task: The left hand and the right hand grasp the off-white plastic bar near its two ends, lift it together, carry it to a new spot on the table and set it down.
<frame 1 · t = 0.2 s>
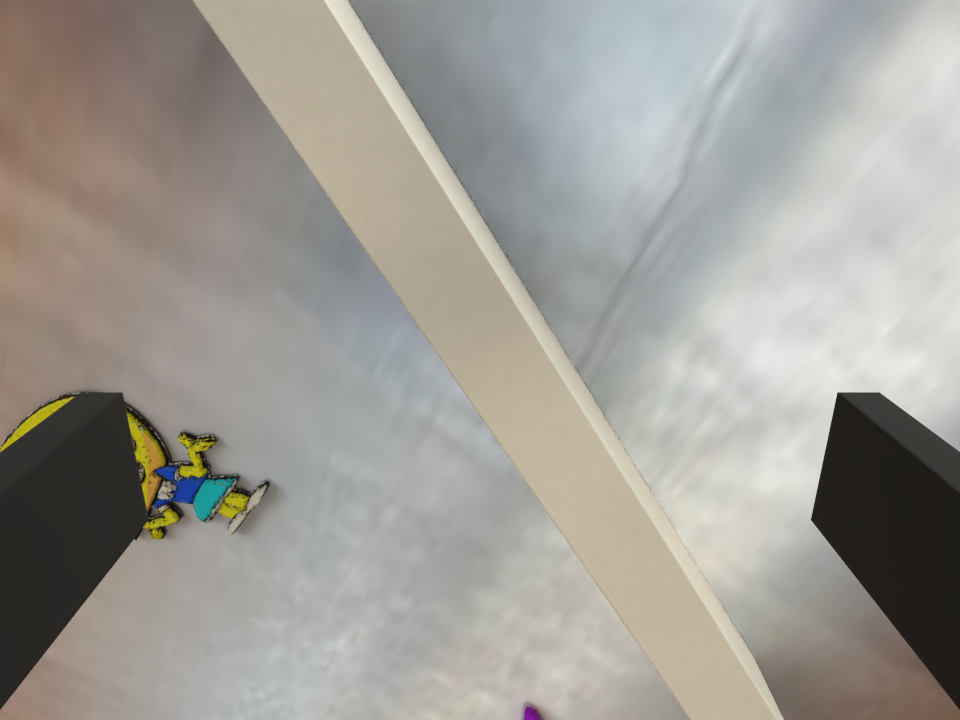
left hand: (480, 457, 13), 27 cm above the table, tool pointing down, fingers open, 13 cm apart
bar: (541, 383, 41), on the table
toy 2: (137, 466, 44), on the table
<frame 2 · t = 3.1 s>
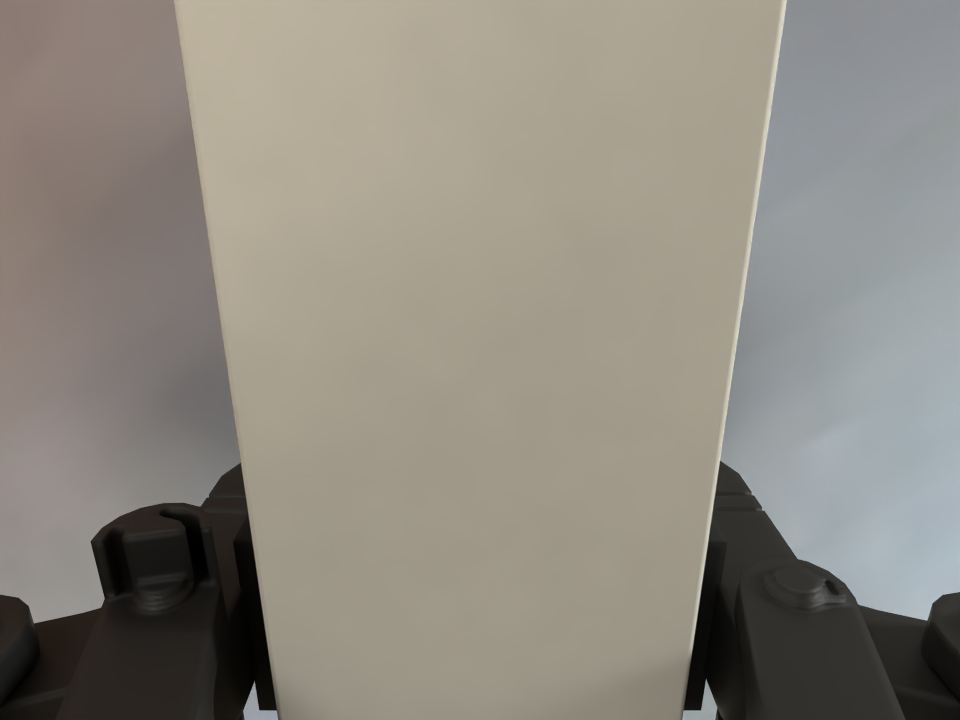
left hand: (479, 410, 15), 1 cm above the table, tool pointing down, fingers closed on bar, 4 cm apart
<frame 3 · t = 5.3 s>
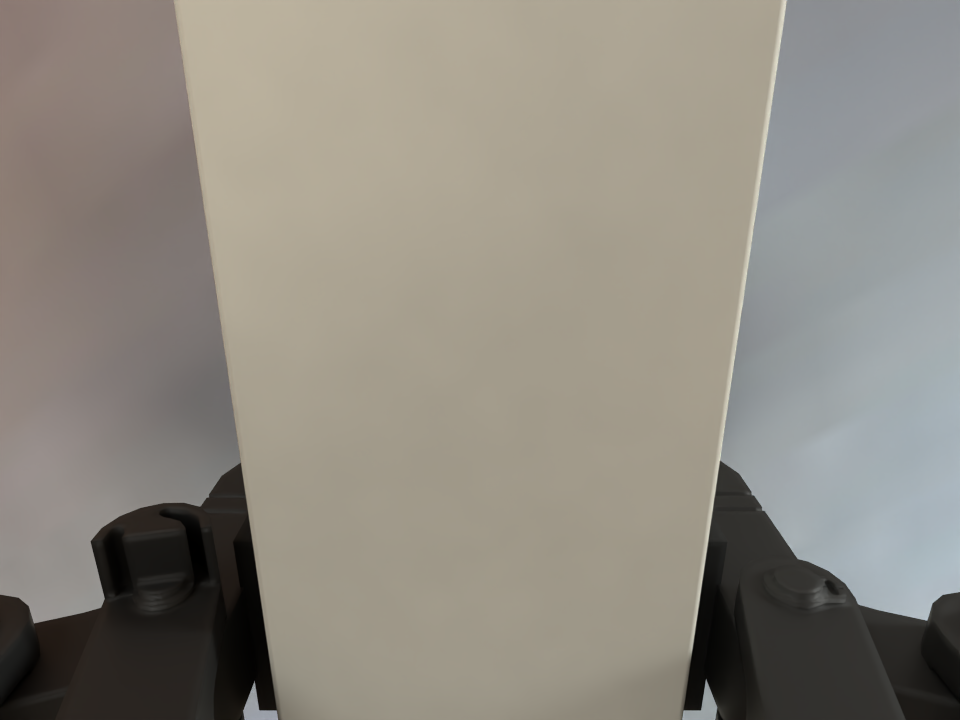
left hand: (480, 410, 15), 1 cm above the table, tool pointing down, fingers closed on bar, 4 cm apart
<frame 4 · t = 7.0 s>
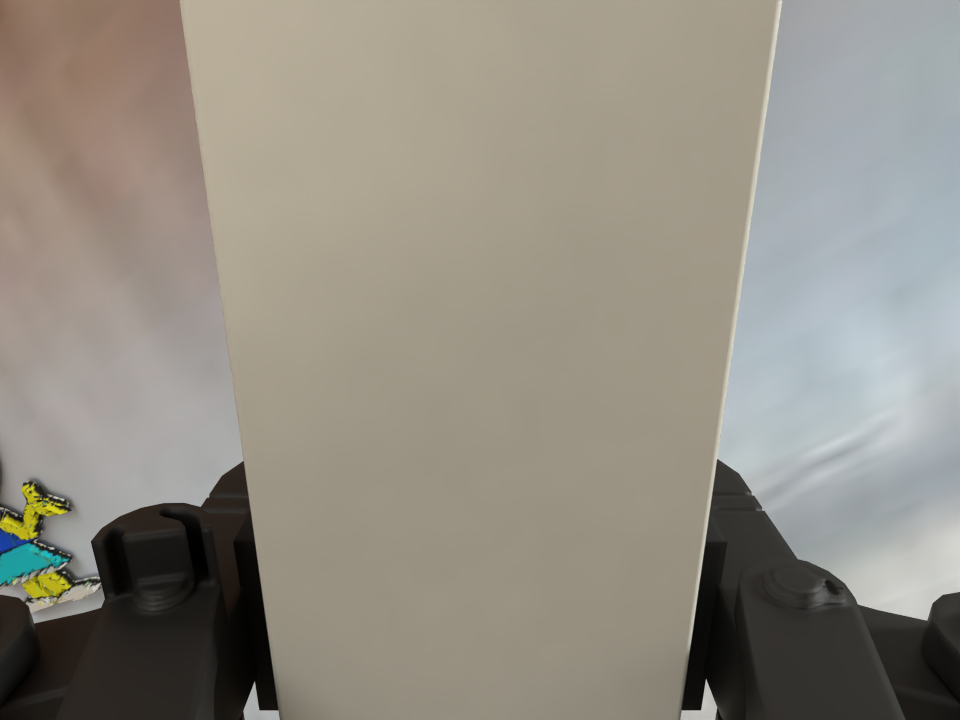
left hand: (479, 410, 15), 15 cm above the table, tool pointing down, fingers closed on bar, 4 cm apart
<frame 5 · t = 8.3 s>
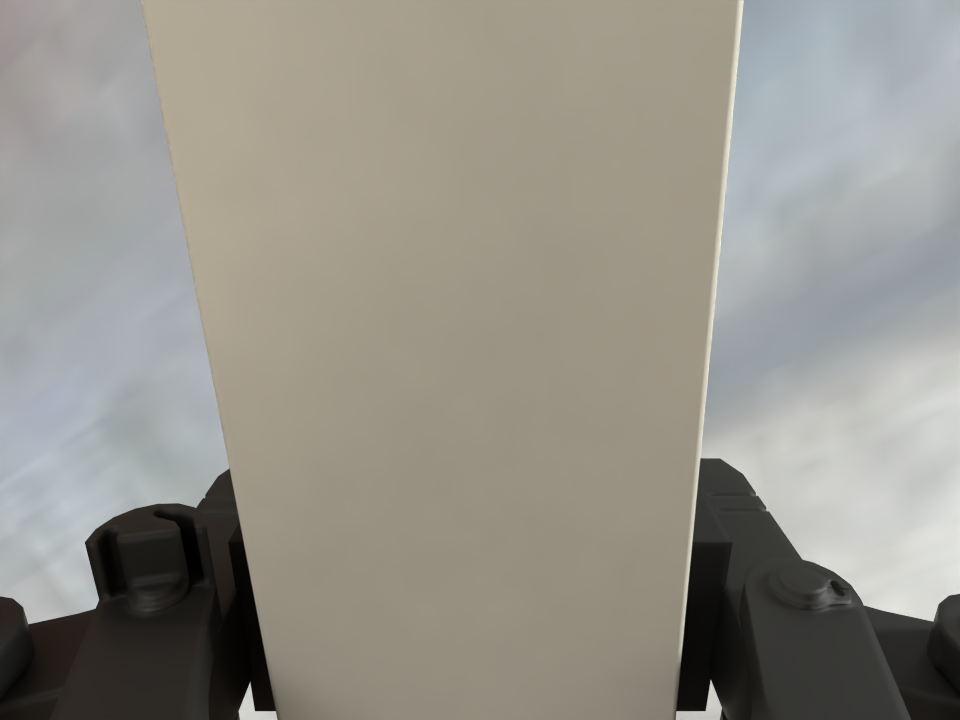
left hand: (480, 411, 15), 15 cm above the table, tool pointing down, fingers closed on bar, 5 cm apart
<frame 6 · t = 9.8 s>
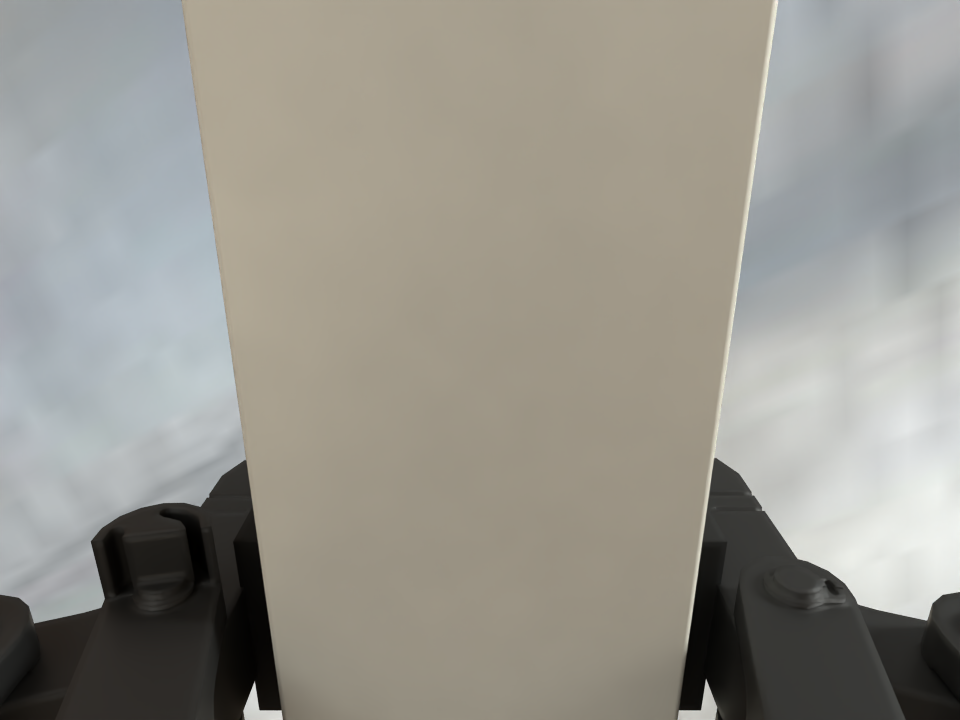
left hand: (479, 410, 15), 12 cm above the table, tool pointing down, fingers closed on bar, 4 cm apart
when the left hand's fingers open (1 cm above the table, at t = 11.2 s): bar stays where it is, on the table.
when the right hand's fingers open (1 cm above the table, at t = 11.2 s): bar stays where it is, on the table.
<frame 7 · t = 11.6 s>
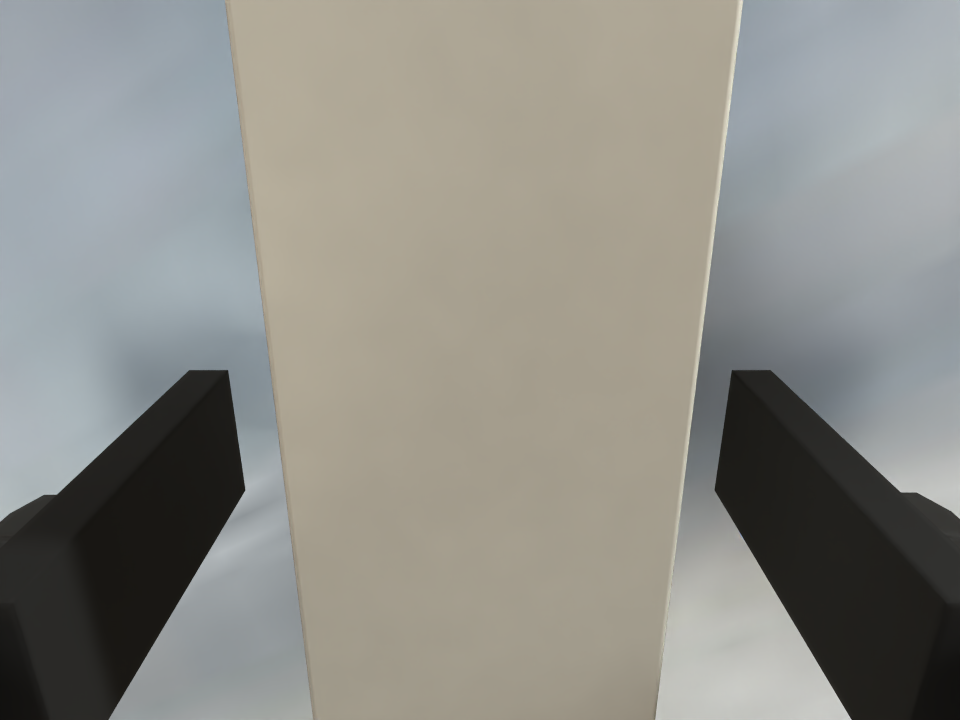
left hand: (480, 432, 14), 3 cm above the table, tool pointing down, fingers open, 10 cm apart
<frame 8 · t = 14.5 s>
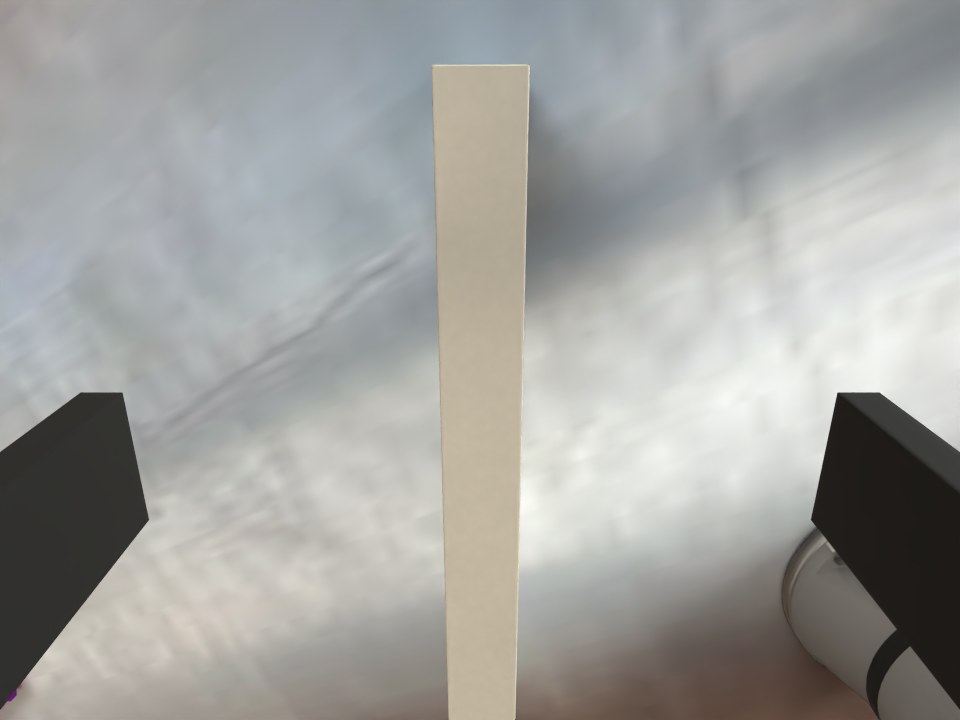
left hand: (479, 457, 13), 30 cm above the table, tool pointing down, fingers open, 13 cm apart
bar: (481, 486, 48), on the table
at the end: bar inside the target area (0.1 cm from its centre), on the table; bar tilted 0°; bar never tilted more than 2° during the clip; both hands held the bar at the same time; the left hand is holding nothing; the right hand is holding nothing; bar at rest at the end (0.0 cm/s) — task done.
